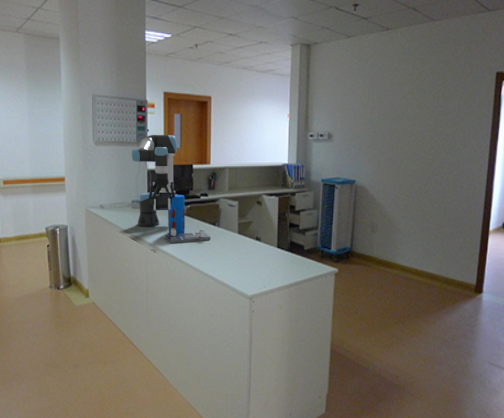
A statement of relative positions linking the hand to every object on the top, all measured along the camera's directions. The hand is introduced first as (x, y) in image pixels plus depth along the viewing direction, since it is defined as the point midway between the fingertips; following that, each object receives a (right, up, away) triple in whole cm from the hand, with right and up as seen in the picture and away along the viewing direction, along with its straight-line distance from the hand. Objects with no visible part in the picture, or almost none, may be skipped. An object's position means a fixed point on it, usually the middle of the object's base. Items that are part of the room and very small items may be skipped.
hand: (162, 209), depth 248 cm
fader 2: (+24, -17, +5) cm, 30 cm away
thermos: (+5, -16, +23) cm, 28 cm away
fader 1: (+6, -17, +6) cm, 19 cm away
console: (+15, -19, +7) cm, 25 cm away
